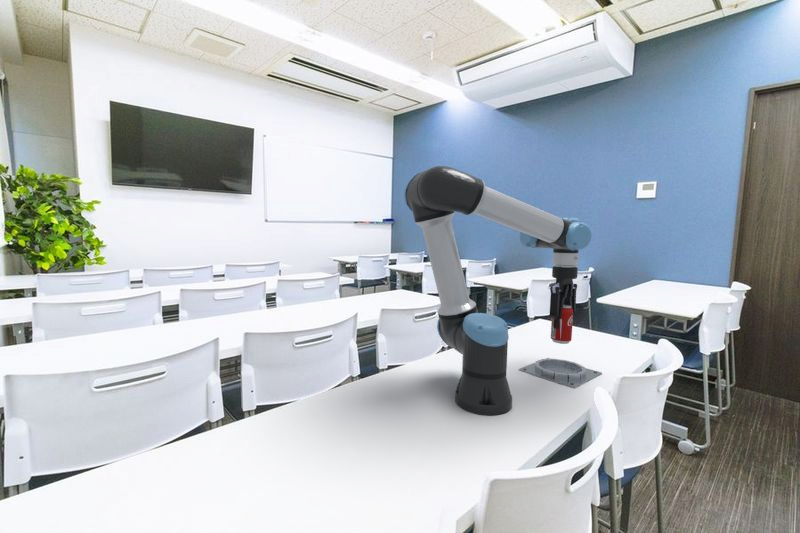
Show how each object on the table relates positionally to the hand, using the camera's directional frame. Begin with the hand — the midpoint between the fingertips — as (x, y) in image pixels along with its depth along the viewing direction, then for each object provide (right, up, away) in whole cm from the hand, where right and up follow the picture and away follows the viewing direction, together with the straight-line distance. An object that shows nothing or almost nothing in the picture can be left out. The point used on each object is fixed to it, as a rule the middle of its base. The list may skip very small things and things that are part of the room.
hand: (561, 336), depth 127 cm
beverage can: (0, -2, 0) cm, 2 cm away
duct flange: (0, -12, +1) cm, 12 cm away
